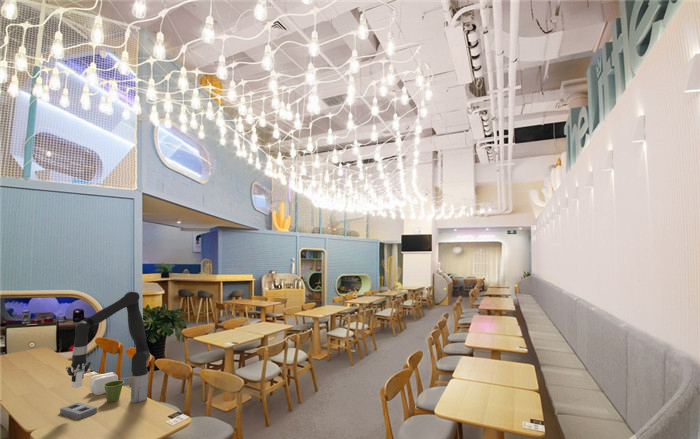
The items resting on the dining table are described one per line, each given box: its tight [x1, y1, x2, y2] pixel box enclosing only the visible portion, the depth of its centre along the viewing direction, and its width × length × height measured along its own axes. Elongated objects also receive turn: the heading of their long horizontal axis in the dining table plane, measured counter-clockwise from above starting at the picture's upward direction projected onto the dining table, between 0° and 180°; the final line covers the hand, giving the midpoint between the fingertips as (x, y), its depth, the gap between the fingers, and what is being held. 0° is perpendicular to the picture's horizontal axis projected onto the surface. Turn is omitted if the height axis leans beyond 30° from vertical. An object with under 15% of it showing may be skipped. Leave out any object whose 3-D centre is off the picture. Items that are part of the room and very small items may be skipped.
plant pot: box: [104, 379, 125, 403], centre depth 237 cm, size 12×12×11 cm
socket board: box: [59, 401, 98, 420], centre depth 218 cm, size 20×10×3 cm, turn 67°
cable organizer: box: [89, 371, 119, 396], centre depth 252 cm, size 15×11×12 cm
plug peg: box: [71, 370, 83, 389], centre depth 221 cm, size 4×4×10 cm
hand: (77, 380), depth 220 cm, fingers closed on plug peg, 3 cm apart
